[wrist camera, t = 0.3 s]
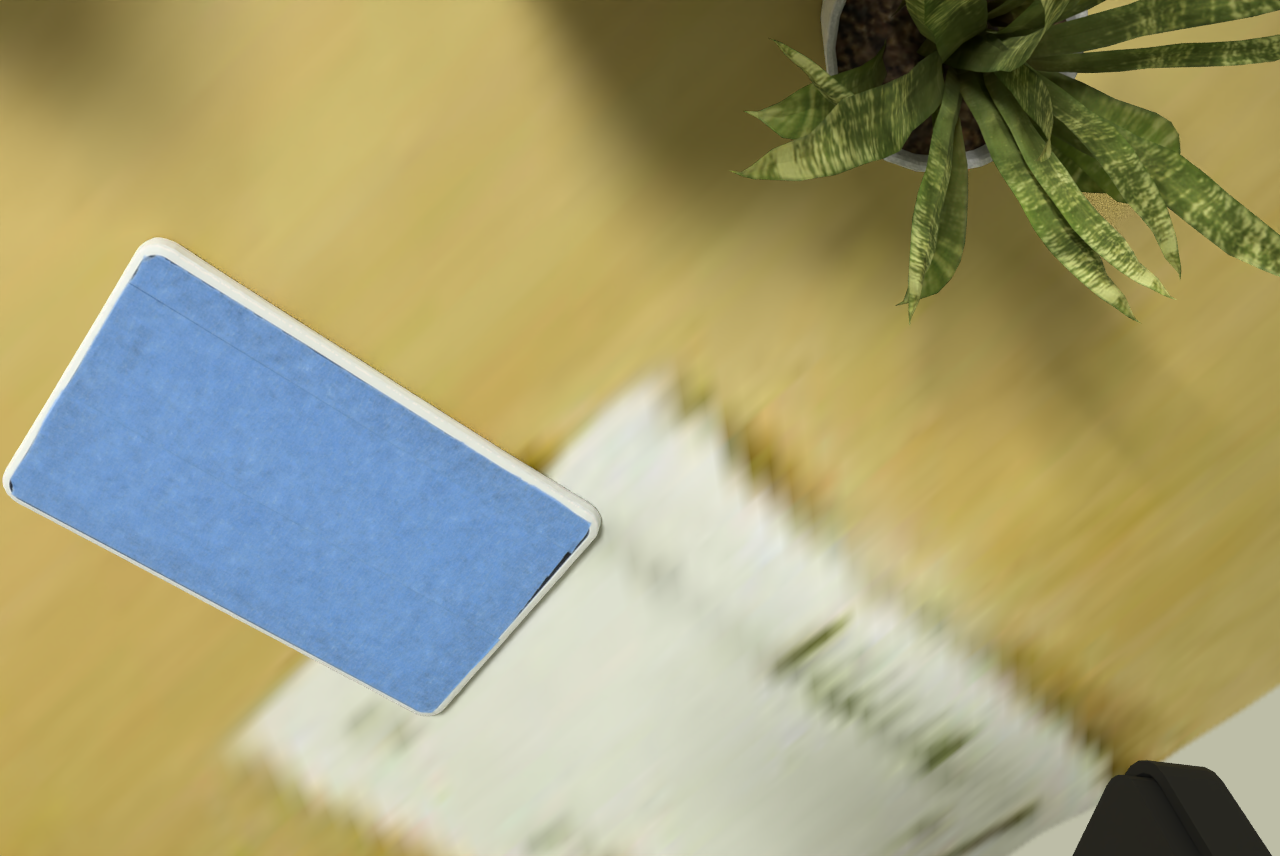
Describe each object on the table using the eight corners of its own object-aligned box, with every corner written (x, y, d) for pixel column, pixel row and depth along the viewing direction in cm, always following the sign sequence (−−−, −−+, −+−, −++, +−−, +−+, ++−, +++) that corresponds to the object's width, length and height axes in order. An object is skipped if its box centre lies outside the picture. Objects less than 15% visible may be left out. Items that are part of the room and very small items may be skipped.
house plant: (1262, -92, 35) (1736, -47, 20) (1004, 292, 40) (1233, 543, 26) (867, -343, 32) (1096, -501, 17) (645, 112, 37) (675, 285, 23)
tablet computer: (611, 509, 45) (611, 527, 43) (435, 710, 49) (431, 732, 48) (158, 219, 39) (144, 231, 38) (3, 477, 43) (-13, 495, 42)
